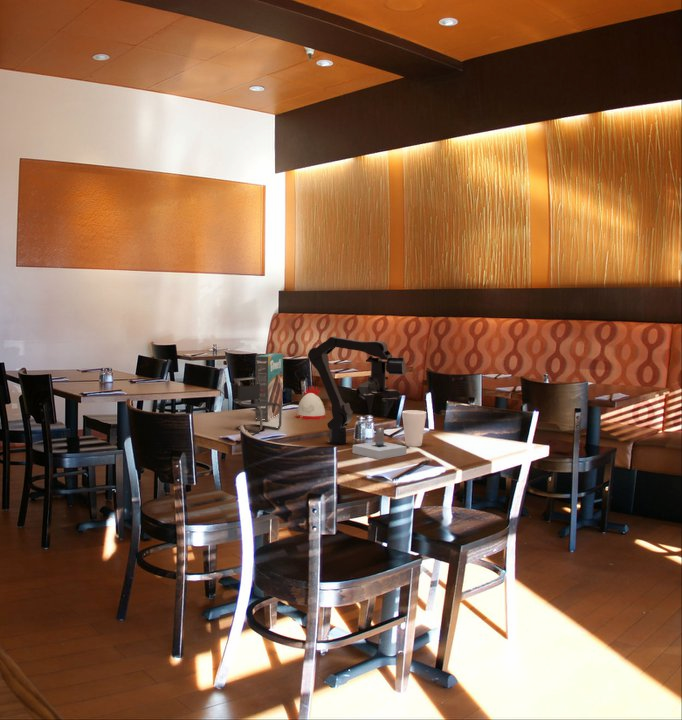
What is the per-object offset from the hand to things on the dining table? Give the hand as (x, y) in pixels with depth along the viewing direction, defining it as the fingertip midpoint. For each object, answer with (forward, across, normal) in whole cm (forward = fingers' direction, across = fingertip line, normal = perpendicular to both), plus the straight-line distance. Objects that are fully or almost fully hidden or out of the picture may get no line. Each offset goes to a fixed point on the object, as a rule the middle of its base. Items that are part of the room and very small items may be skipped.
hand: (377, 414), depth 294 cm
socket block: (+12, +11, -9) cm, 19 cm away
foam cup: (+13, +6, +14) cm, 20 cm away
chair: (+13, -58, -16) cm, 61 cm away
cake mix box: (+13, -82, +7) cm, 83 cm away
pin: (+12, +11, -9) cm, 19 cm away
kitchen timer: (+13, -73, +25) cm, 78 cm away
